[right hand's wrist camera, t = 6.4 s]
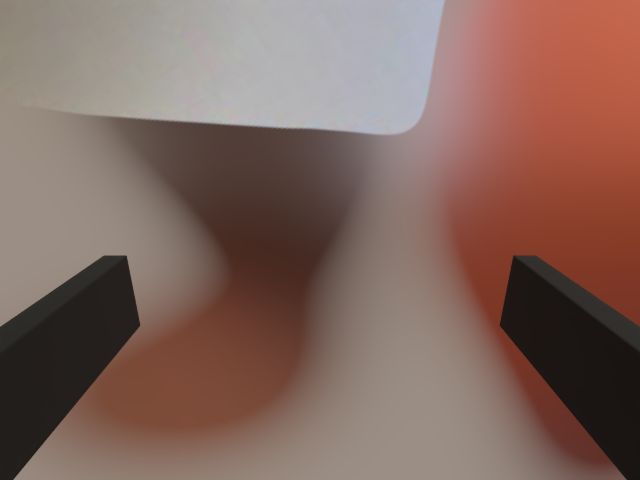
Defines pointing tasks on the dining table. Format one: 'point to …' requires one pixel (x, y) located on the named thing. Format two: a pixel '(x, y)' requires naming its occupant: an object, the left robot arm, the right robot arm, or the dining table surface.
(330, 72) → the dining table surface
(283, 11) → the dining table surface
